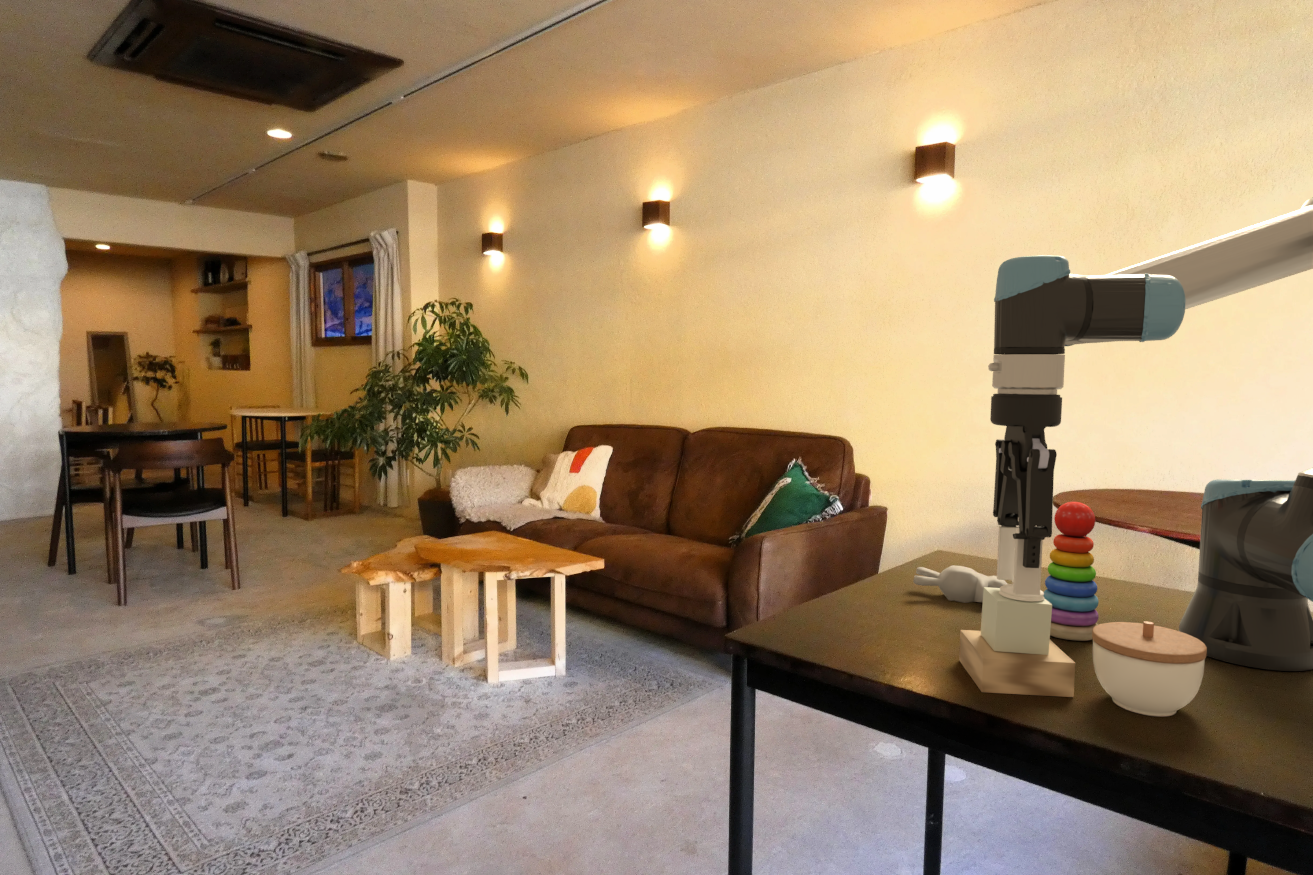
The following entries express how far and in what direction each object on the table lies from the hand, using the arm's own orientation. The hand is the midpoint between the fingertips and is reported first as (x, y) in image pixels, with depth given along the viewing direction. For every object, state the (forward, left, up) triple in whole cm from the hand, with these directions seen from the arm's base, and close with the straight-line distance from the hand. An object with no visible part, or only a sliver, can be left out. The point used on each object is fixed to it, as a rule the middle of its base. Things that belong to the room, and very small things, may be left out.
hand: (1017, 585), depth 94 cm
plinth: (0, 0, -11) cm, 11 cm away
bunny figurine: (-3, -33, -12) cm, 36 cm away
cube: (0, 0, -7) cm, 7 cm away
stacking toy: (-13, -18, -12) cm, 25 cm away
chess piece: (0, 0, -1) cm, 2 cm away
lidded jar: (-12, +6, -12) cm, 18 cm away
